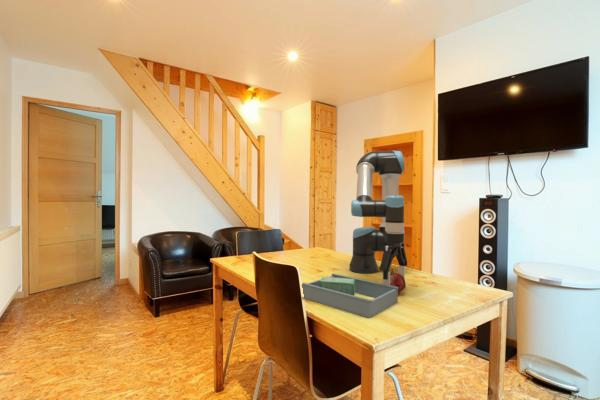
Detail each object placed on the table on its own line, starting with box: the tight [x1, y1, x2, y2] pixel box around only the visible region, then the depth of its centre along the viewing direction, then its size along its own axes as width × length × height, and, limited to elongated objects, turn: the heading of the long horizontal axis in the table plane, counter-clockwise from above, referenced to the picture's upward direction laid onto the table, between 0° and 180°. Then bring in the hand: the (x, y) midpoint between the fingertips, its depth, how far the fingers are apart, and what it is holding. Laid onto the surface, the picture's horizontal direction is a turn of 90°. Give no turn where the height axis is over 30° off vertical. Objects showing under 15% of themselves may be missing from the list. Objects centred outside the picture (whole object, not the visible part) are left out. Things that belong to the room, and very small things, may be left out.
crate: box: [301, 273, 399, 319], centre depth 121 cm, size 21×30×6 cm
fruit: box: [389, 269, 407, 294], centre depth 130 cm, size 9×10×10 cm
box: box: [319, 276, 356, 296], centre depth 124 cm, size 7×14×8 cm, turn 77°
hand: (394, 284), depth 129 cm, fingers open, 13 cm apart
